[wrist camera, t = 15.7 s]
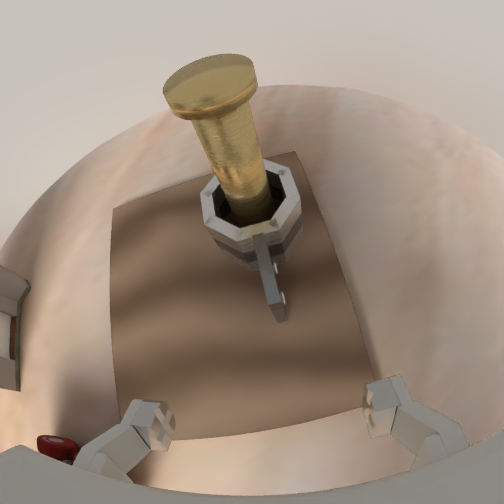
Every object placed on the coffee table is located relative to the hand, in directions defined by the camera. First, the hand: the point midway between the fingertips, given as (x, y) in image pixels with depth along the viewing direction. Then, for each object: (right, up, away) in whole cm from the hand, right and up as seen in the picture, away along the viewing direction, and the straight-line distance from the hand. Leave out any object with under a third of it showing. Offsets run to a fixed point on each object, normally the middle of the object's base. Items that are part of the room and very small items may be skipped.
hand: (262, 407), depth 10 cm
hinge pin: (0, +8, +13) cm, 15 cm away
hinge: (0, +8, +13) cm, 15 cm away
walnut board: (-3, +3, +12) cm, 13 cm away
